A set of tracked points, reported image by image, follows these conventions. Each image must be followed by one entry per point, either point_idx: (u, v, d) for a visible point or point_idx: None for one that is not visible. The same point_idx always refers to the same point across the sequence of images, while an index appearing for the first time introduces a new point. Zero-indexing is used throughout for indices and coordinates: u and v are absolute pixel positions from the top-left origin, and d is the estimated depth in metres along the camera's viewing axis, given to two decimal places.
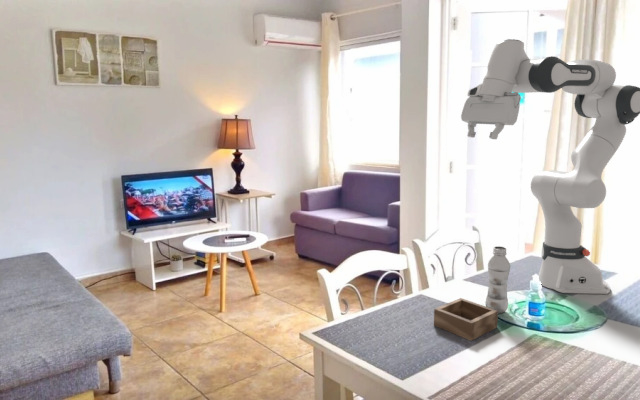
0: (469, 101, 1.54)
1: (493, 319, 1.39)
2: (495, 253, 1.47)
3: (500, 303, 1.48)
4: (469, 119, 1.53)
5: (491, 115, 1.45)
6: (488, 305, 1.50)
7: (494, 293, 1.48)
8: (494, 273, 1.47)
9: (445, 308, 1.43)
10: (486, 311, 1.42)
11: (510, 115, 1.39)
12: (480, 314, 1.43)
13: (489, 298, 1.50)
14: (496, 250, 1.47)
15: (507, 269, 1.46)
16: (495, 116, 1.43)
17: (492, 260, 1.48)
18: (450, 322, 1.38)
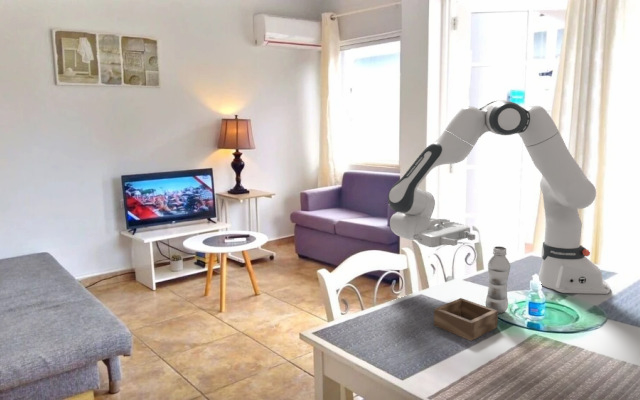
0: None
1: (493, 319, 1.39)
2: (495, 253, 1.47)
3: (500, 303, 1.48)
4: None
5: None
6: (488, 305, 1.50)
7: (494, 293, 1.48)
8: (494, 273, 1.47)
9: (445, 308, 1.43)
10: (486, 311, 1.42)
11: (427, 245, 1.56)
12: (480, 314, 1.43)
13: (489, 298, 1.50)
14: (496, 250, 1.47)
15: (507, 269, 1.46)
16: None
17: (492, 260, 1.48)
18: (450, 322, 1.38)
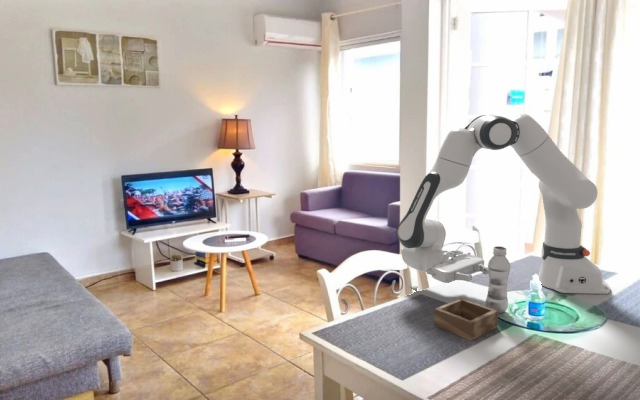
0: None
1: (493, 319, 1.39)
2: (495, 253, 1.47)
3: (500, 303, 1.48)
4: None
5: None
6: (488, 305, 1.50)
7: (494, 293, 1.48)
8: (494, 273, 1.47)
9: (445, 308, 1.43)
10: (486, 311, 1.42)
11: (441, 280, 1.54)
12: (480, 314, 1.43)
13: (489, 298, 1.50)
14: (496, 250, 1.47)
15: (507, 269, 1.46)
16: None
17: (492, 260, 1.48)
18: (450, 322, 1.38)
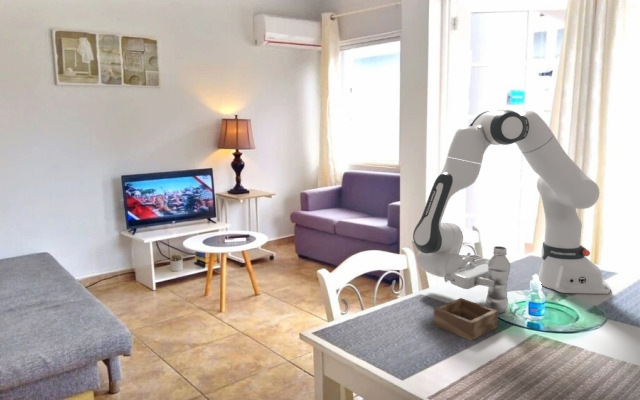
0: None
1: (493, 319, 1.39)
2: (495, 253, 1.47)
3: (500, 302, 1.48)
4: None
5: None
6: (488, 305, 1.50)
7: (494, 293, 1.48)
8: (494, 273, 1.47)
9: (445, 308, 1.43)
10: (486, 311, 1.42)
11: (461, 286, 1.48)
12: (480, 314, 1.43)
13: (489, 298, 1.50)
14: (496, 250, 1.47)
15: (507, 269, 1.46)
16: None
17: (492, 260, 1.48)
18: (450, 322, 1.38)
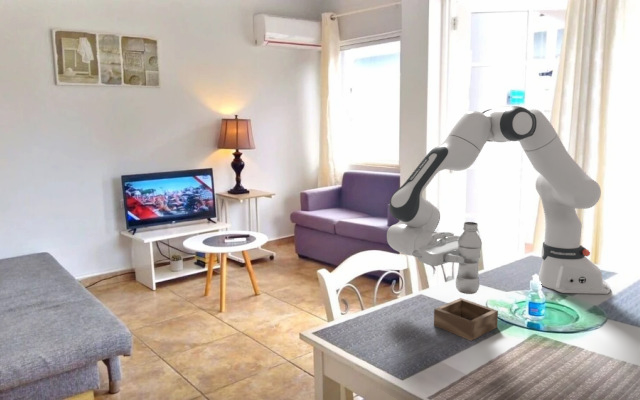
0: None
1: (493, 319, 1.39)
2: (465, 229, 1.36)
3: (470, 282, 1.37)
4: None
5: None
6: (458, 285, 1.39)
7: (464, 272, 1.37)
8: (464, 250, 1.36)
9: (445, 308, 1.43)
10: (486, 311, 1.42)
11: (428, 263, 1.37)
12: (480, 314, 1.43)
13: (459, 278, 1.39)
14: (466, 225, 1.36)
15: (478, 246, 1.35)
16: None
17: (462, 237, 1.37)
18: (450, 322, 1.38)
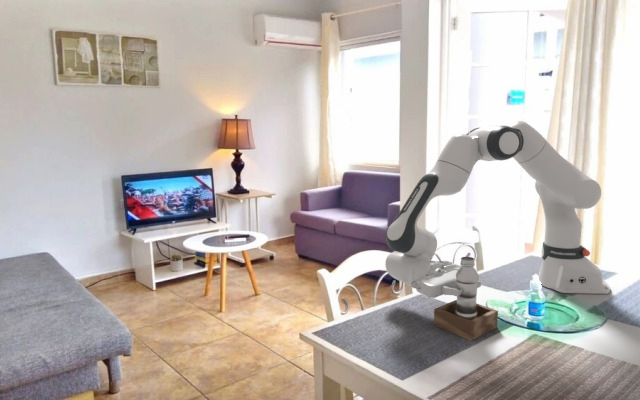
0: None
1: (493, 319, 1.39)
2: (462, 264, 1.38)
3: (468, 317, 1.38)
4: None
5: None
6: None
7: (463, 307, 1.39)
8: (462, 286, 1.37)
9: (445, 308, 1.43)
10: (486, 311, 1.42)
11: (427, 295, 1.38)
12: (480, 314, 1.43)
13: (457, 312, 1.40)
14: (463, 261, 1.37)
15: (475, 281, 1.36)
16: None
17: (460, 272, 1.38)
18: (450, 322, 1.38)
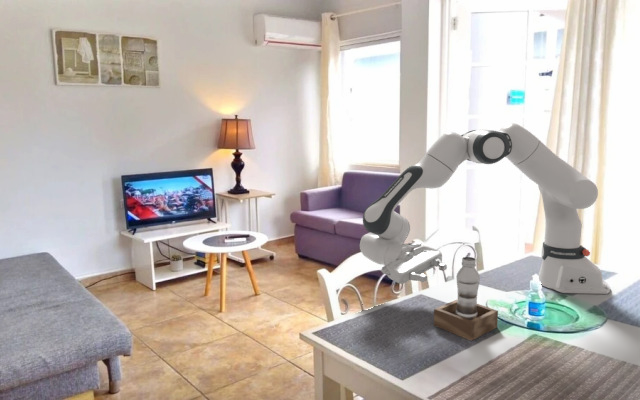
0: None
1: (493, 319, 1.39)
2: (463, 264, 1.38)
3: (469, 317, 1.38)
4: None
5: None
6: None
7: (463, 307, 1.39)
8: (462, 286, 1.37)
9: (445, 308, 1.43)
10: (486, 311, 1.42)
11: (396, 281, 1.49)
12: (480, 314, 1.43)
13: (457, 312, 1.40)
14: (464, 261, 1.37)
15: (476, 281, 1.36)
16: None
17: (461, 272, 1.38)
18: (450, 322, 1.38)
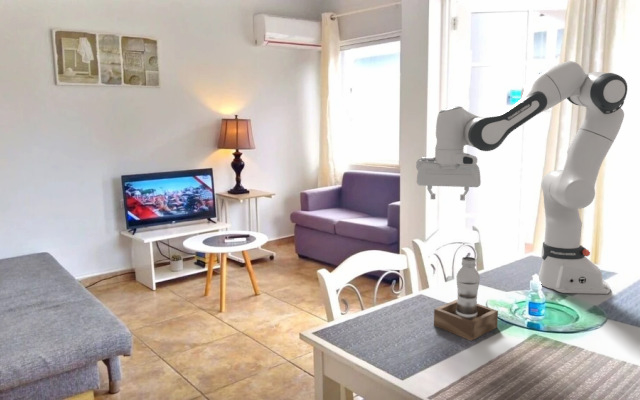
0: None
1: (493, 319, 1.39)
2: (463, 264, 1.38)
3: (469, 317, 1.38)
4: None
5: None
6: None
7: (463, 307, 1.39)
8: (462, 286, 1.37)
9: (445, 308, 1.43)
10: (486, 311, 1.42)
11: None
12: (480, 314, 1.43)
13: (457, 312, 1.40)
14: (464, 261, 1.37)
15: (476, 281, 1.36)
16: None
17: (461, 272, 1.38)
18: (450, 322, 1.38)
